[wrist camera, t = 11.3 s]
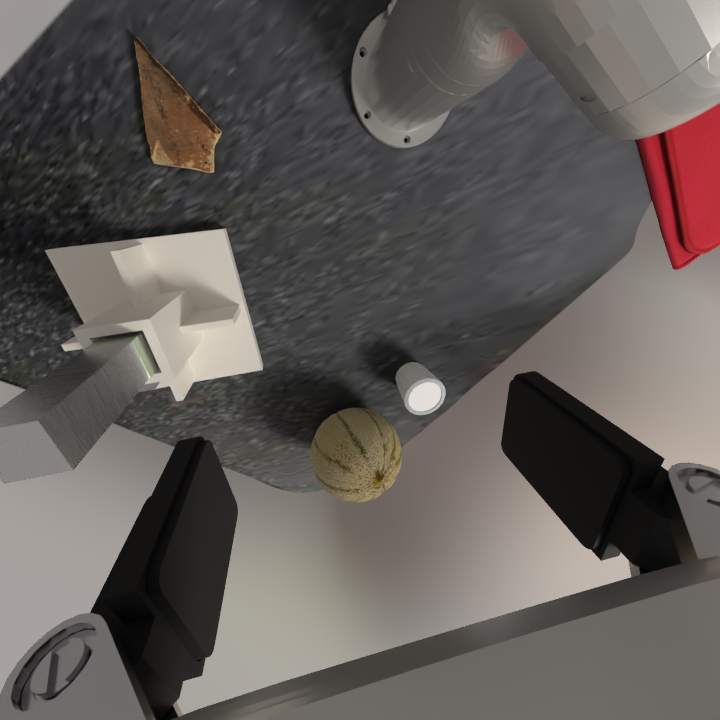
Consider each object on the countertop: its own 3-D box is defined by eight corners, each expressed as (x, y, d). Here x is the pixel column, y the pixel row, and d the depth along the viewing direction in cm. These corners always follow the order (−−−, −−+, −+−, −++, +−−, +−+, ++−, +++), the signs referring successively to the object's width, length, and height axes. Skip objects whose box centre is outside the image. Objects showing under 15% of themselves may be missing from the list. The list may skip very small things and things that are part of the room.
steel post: (115, 326, 34) (-41, 434, 18) (156, 320, 34) (38, 419, 18) (132, 360, 36) (3, 484, 20) (170, 354, 36) (74, 470, 20)
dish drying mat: (666, 270, 57) (689, 274, 53) (597, 18, 38) (626, 1, 35) (748, 207, 54) (778, 207, 51) (717, -95, 36) (760, -126, 32)
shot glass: (385, 388, 55) (397, 410, 49) (401, 354, 53) (416, 373, 47) (418, 396, 58) (433, 419, 51) (435, 364, 55) (453, 384, 49)
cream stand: (53, 248, 37) (-58, 268, 26) (225, 228, 40) (197, 238, 28) (126, 389, 47) (70, 452, 35) (263, 365, 49) (253, 416, 37)
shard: (139, 40, 32) (131, 32, 30) (220, 59, 34) (216, 52, 32) (154, 164, 36) (148, 162, 35) (225, 175, 38) (222, 174, 36)
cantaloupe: (291, 434, 56) (291, 505, 43) (345, 376, 53) (362, 433, 40) (352, 467, 62) (369, 537, 49) (403, 416, 59) (435, 477, 46)
